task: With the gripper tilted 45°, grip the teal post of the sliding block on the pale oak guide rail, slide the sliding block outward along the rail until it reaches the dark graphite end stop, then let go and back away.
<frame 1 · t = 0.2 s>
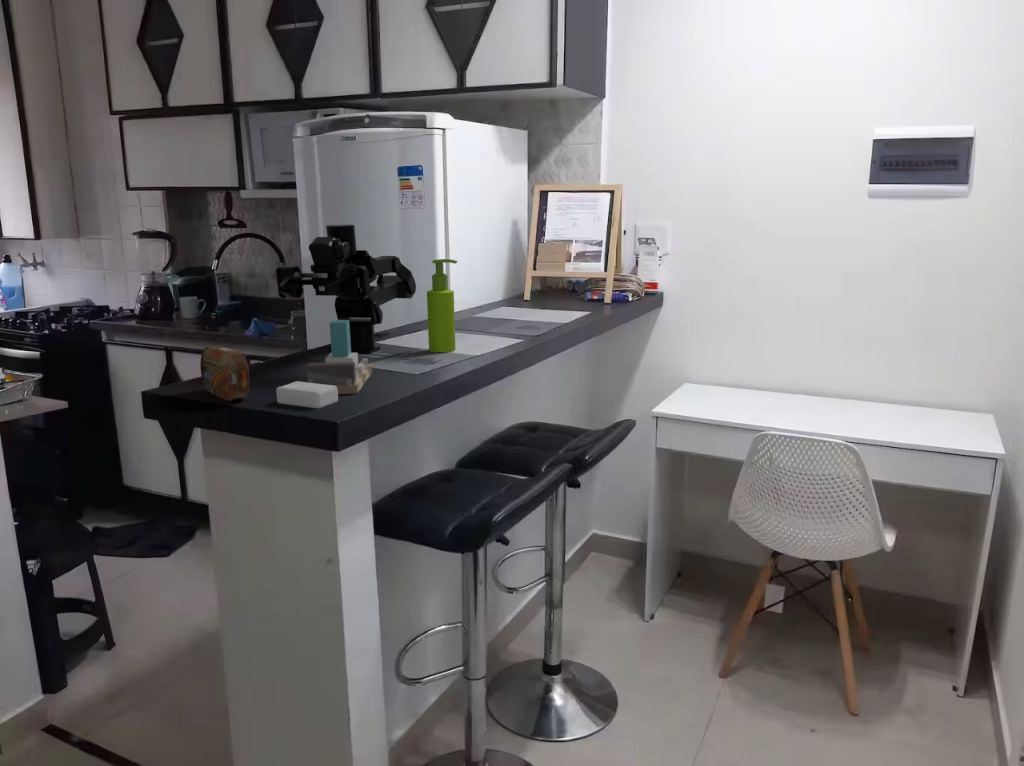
hand: (302, 289, 141), 17 cm above the countertop, tool horizontal, fingers open, 9 cm apart
guide rail: (343, 379, 142), on the countertop
tin: (227, 397, 131), on the countertop
soap dispenser: (444, 350, 169), on the countertop
soap: (308, 404, 126), on the countertop
sliding block: (341, 346, 140), point 6 cm above the countertop, slide at 0.0 cm
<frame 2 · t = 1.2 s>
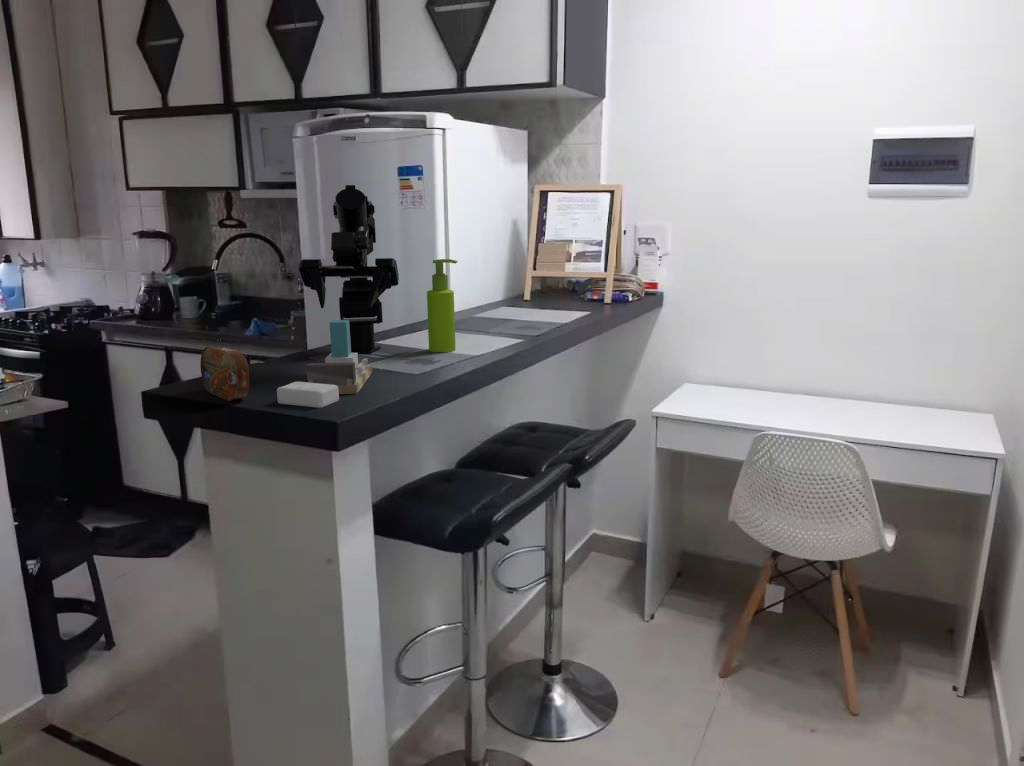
hand: (345, 306, 145), 13 cm above the countertop, tool tilted 45°, fingers open, 9 cm apart
nothing on the countertop moved.
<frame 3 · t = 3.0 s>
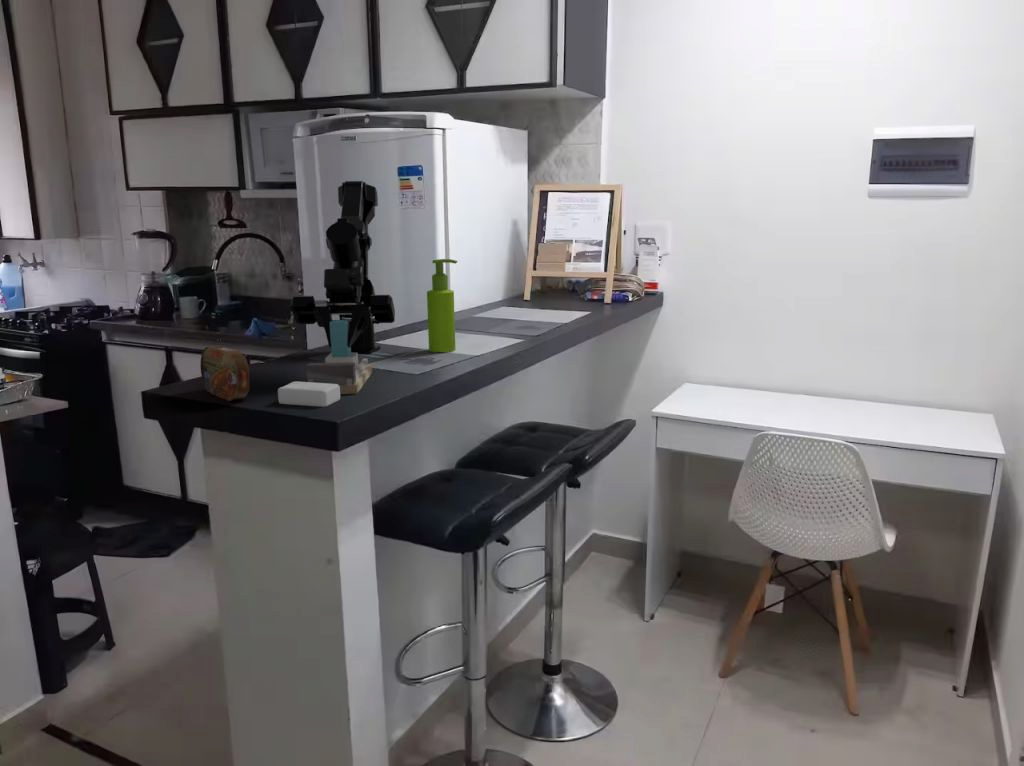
hand: (339, 346, 139), 7 cm above the countertop, tool tilted 45°, fingers closed on sliding block, 3 cm apart
sliding block: (341, 346, 140), point 6 cm above the countertop, slide at 0.0 cm, touching gripper
everything else where it was.
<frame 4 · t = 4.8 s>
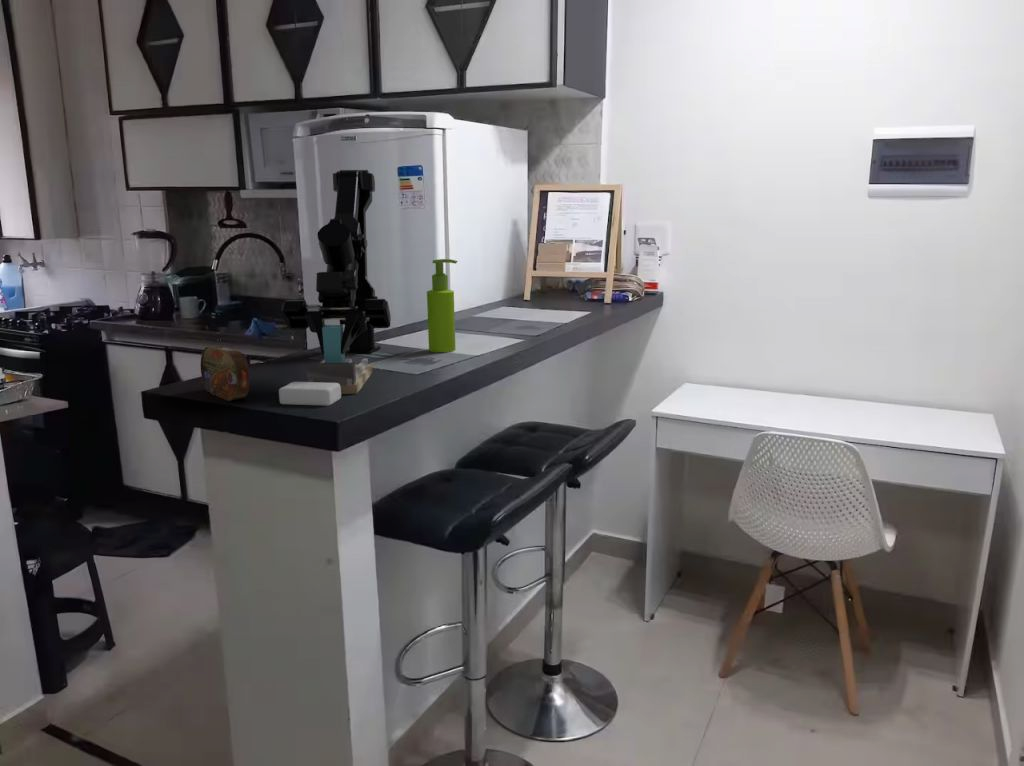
hand: (332, 352, 133), 7 cm above the countertop, tool tilted 45°, fingers closed on sliding block, 3 cm apart
sliding block: (334, 352, 135), point 6 cm above the countertop, slide at 6.0 cm, touching gripper
everything else where it was.
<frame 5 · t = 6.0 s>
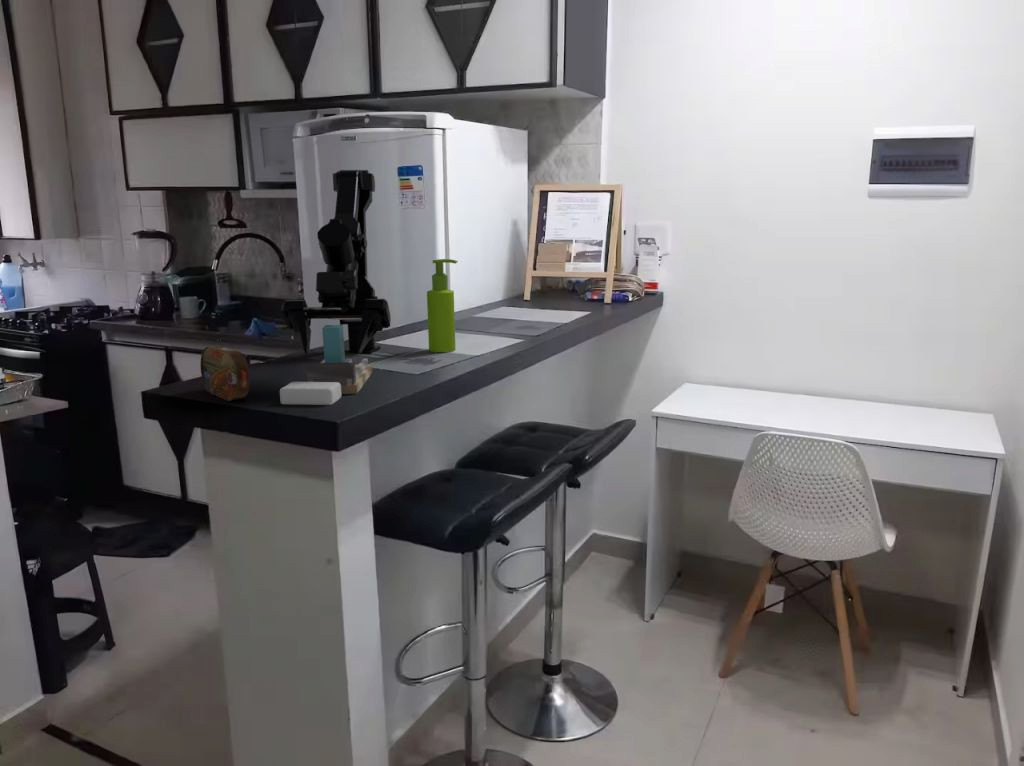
hand: (332, 352, 133), 7 cm above the countertop, tool tilted 45°, fingers open, 9 cm apart
sliding block: (334, 352, 135), point 6 cm above the countertop, slide at 6.0 cm
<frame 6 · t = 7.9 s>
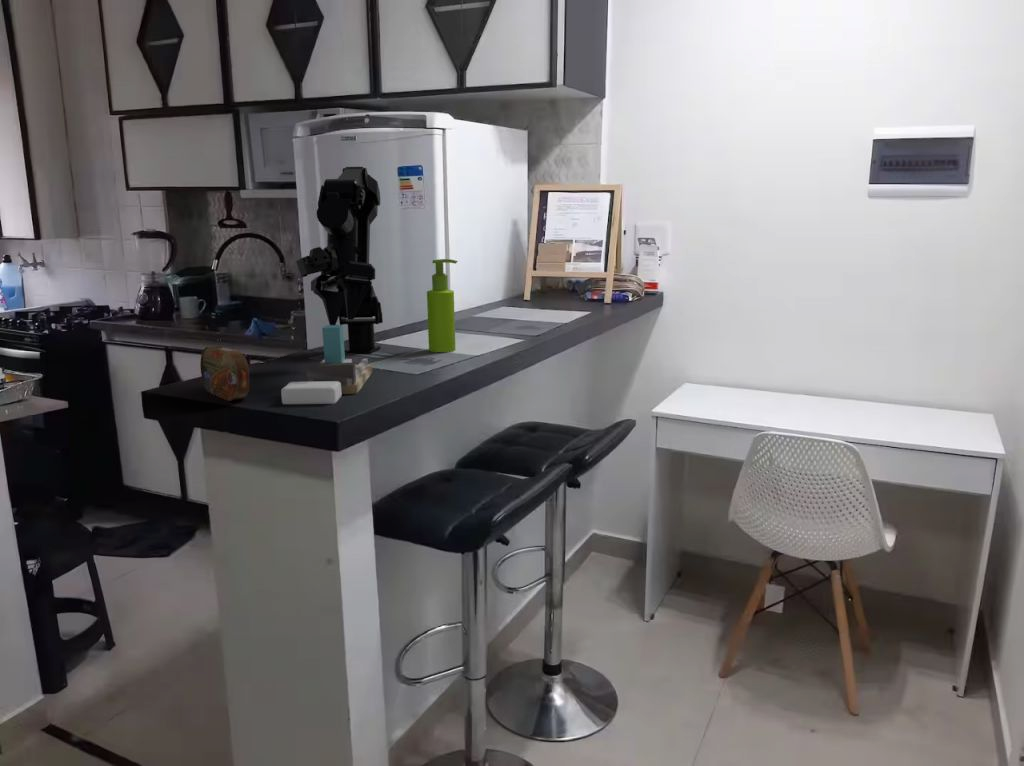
hand: (341, 322, 147), 10 cm above the countertop, tool tilted 15°, fingers open, 9 cm apart
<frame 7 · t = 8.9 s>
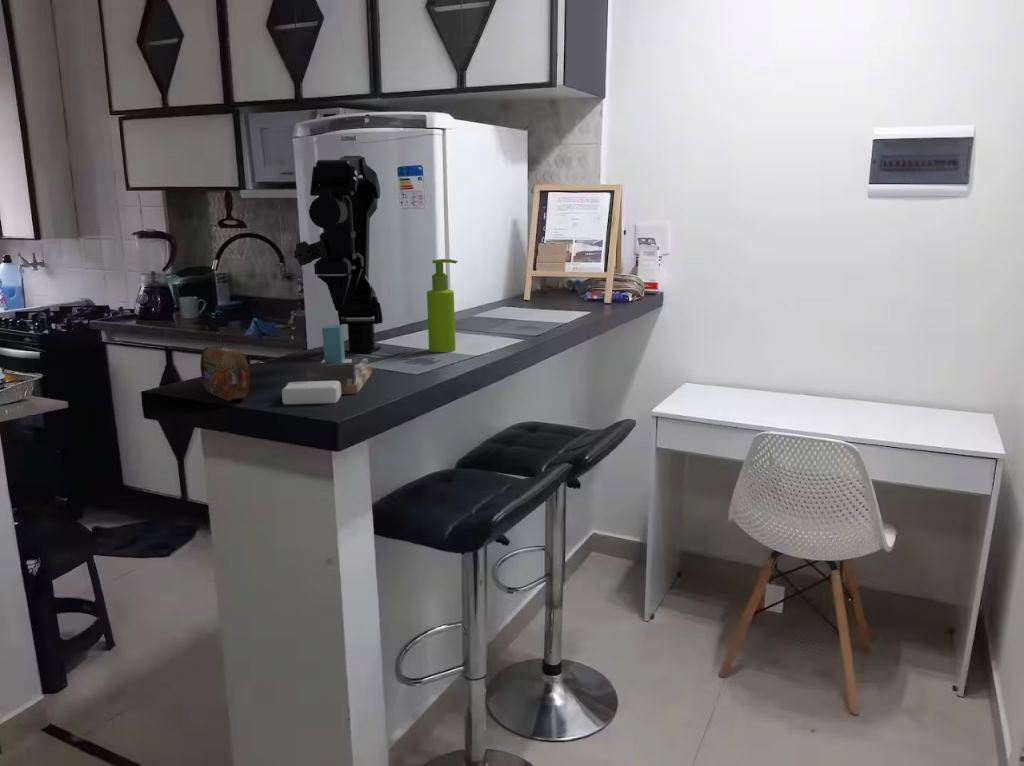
hand: (343, 307, 150), 12 cm above the countertop, tool pointing down, fingers open, 9 cm apart
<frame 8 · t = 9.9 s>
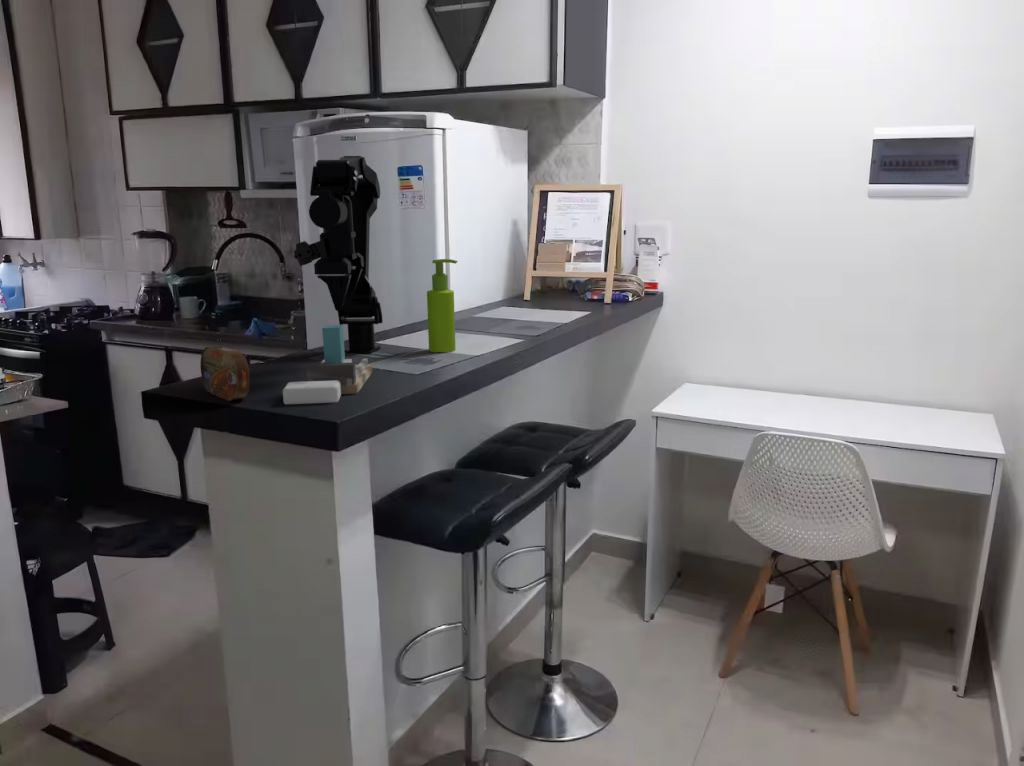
hand: (343, 307, 150), 12 cm above the countertop, tool pointing down, fingers open, 9 cm apart
at the end: sliding block slide at 6.0 cm; the gripper is holding nothing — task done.
